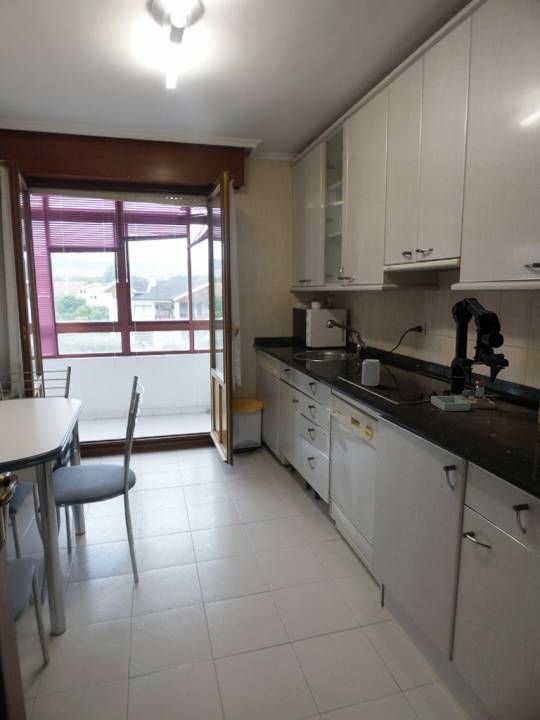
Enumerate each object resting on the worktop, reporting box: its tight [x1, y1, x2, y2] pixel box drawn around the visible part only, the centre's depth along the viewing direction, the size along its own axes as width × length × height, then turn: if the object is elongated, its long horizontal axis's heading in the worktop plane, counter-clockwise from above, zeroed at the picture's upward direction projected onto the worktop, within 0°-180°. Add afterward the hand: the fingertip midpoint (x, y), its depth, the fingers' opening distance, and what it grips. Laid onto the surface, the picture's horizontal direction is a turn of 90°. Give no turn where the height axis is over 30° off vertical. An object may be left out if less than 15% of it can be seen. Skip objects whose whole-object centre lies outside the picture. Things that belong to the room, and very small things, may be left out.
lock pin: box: [474, 380, 487, 399], centre depth 178 cm, size 4×4×8 cm
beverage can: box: [361, 358, 381, 387], centre depth 215 cm, size 8×8×12 cm
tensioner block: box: [453, 389, 496, 409], centre depth 183 cm, size 14×10×5 cm
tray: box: [430, 395, 471, 412], centre depth 178 cm, size 12×10×3 cm
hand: (480, 383), depth 178 cm, fingers open, 9 cm apart
